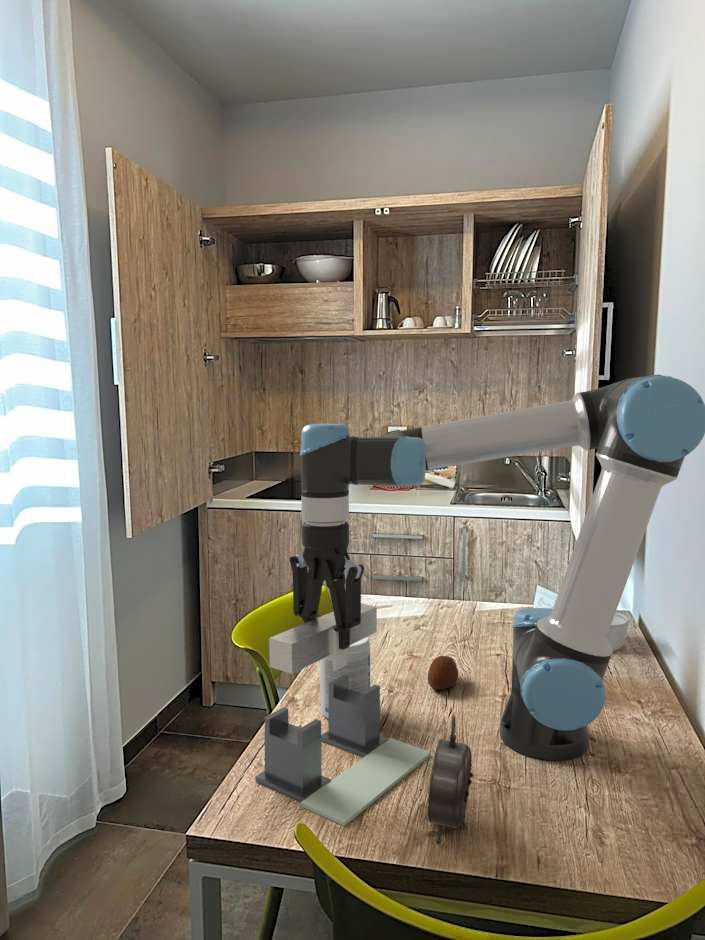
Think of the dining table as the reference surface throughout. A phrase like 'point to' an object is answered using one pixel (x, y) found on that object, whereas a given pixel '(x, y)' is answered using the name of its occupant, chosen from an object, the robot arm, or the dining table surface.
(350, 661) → the supplement tub
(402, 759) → the mat
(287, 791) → the post left
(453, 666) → the potato
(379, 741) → the post right
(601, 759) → the dining table surface
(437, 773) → the alarm clock
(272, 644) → the rail
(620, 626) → the ramekin
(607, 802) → the dining table surface
